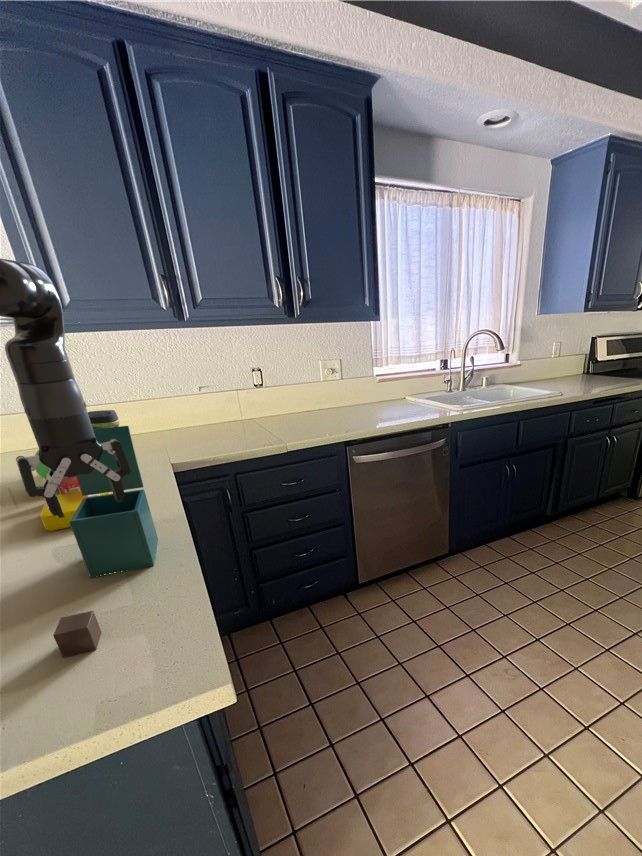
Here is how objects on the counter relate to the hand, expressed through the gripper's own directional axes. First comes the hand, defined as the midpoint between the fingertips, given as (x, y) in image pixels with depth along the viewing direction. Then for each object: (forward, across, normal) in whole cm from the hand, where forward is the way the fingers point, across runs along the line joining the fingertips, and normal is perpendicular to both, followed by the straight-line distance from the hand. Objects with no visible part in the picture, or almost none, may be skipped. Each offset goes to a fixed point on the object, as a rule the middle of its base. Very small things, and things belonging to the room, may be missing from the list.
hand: (90, 508), depth 72 cm
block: (+19, +8, +9) cm, 22 cm away
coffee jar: (+19, -24, -93) cm, 97 cm away
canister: (+19, -5, -16) cm, 25 cm away
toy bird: (+19, -9, -79) cm, 82 cm away
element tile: (+19, -4, -49) cm, 52 cm away
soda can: (+19, -6, -63) cm, 66 cm away
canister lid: (-1, -8, -22) cm, 24 cm away
